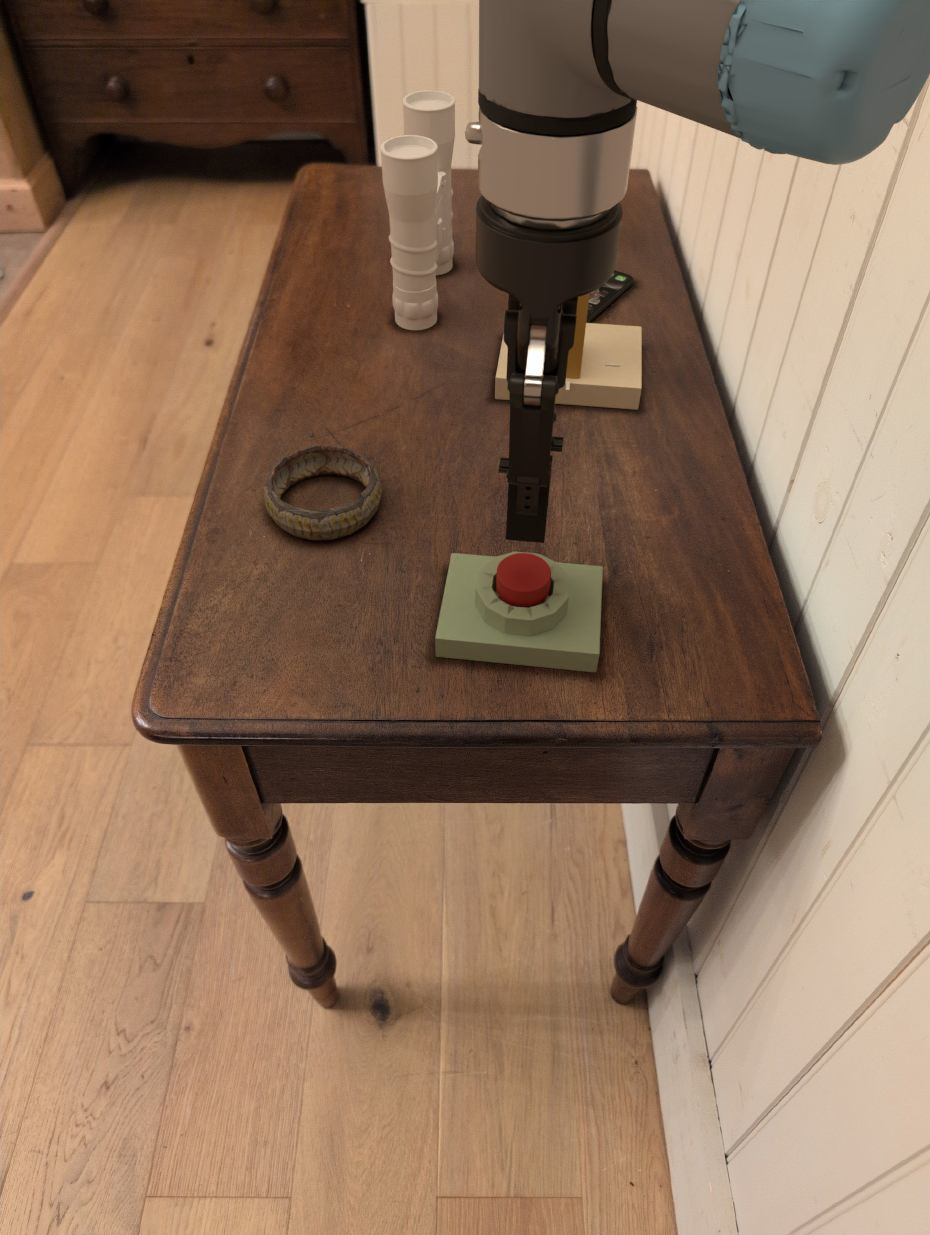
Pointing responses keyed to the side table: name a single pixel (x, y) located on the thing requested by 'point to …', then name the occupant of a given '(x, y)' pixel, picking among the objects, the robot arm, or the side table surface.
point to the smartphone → (607, 293)
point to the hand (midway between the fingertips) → (525, 533)
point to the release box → (521, 617)
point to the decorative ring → (316, 464)
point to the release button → (523, 580)
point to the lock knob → (578, 339)
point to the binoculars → (420, 204)
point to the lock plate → (597, 369)
